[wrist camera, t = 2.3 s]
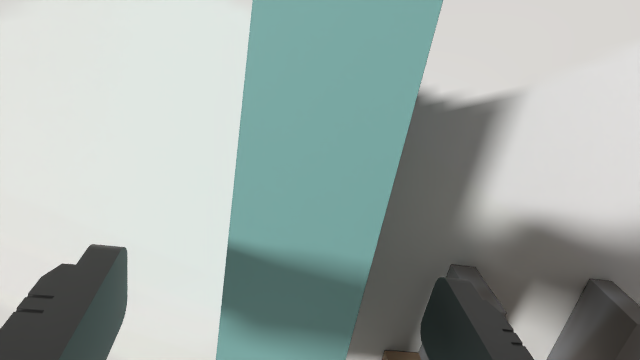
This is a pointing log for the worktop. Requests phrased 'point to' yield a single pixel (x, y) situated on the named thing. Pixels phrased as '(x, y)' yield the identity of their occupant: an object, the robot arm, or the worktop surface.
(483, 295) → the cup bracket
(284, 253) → the rail
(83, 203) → the worktop surface
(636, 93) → the worktop surface
